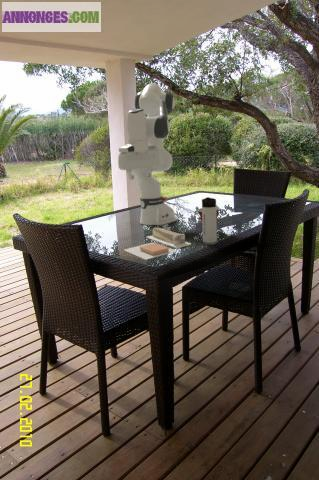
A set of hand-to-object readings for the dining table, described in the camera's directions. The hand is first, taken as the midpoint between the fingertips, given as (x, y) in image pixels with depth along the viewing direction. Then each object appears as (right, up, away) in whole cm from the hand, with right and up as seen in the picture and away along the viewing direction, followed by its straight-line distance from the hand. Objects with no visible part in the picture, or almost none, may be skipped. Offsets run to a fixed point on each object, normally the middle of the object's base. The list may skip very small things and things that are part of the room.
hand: (140, 178), depth 180 cm
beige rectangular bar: (+12, -28, +1) cm, 31 cm away
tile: (+3, -31, -9) cm, 32 cm away
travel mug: (+31, -30, -3) cm, 43 cm away
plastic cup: (+33, -24, +15) cm, 44 cm away
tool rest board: (+13, -29, +1) cm, 32 cm away
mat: (+4, -33, -11) cm, 35 cm away
